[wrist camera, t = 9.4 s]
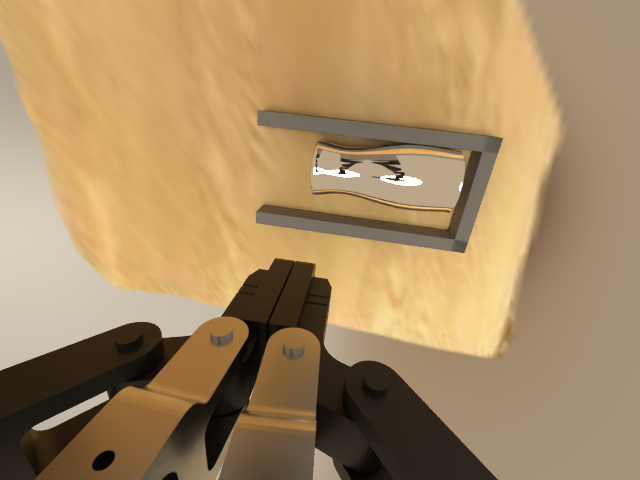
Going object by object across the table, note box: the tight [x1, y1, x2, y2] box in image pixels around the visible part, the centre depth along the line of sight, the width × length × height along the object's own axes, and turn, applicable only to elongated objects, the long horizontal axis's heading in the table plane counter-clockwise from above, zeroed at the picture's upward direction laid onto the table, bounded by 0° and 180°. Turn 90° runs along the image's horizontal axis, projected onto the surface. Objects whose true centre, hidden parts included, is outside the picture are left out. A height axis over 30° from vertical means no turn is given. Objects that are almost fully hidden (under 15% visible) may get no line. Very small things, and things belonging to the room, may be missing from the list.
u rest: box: [256, 110, 503, 253], centre depth 35 cm, size 13×26×3 cm, turn 84°
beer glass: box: [311, 140, 465, 213], centre depth 32 cm, size 7×7×15 cm
